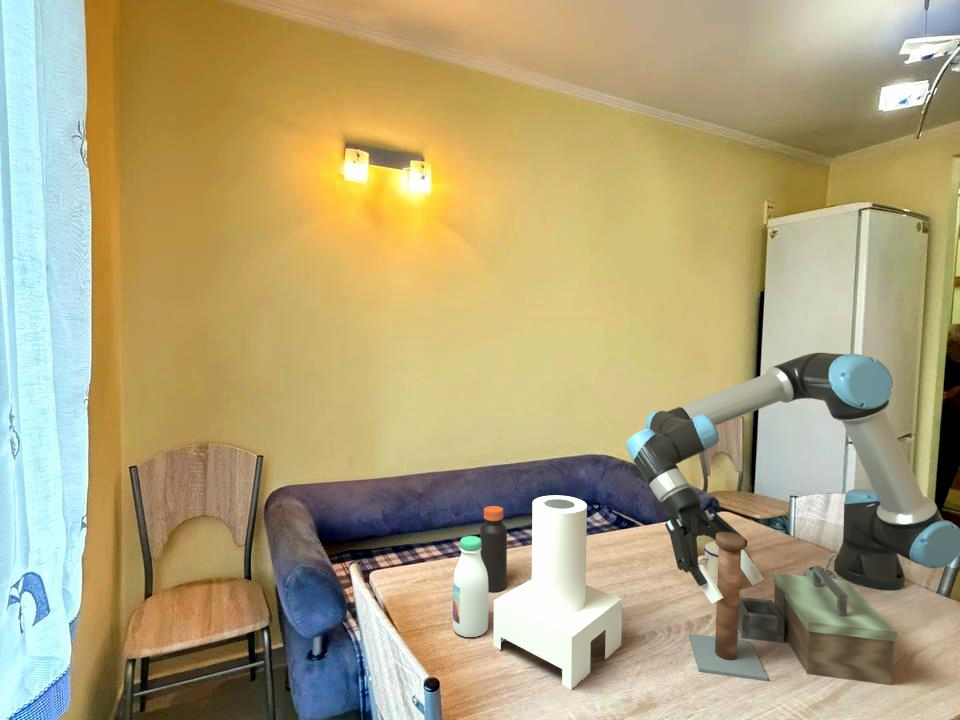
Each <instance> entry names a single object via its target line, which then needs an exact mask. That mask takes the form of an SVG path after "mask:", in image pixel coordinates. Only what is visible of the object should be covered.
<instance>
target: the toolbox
mask: <svg viewBox="0 0 960 720" xmlns="http://www.w3.org/2000/svg"><path fill="white" fill-rule="evenodd" d="M812 567H813V577H809V576H804V575H797V574H789V573H788V574H786V573H777V572H773V578H772V582H773V583H774V598H773V600H770V599H764V598H763V599H762V598H761V599H760V598H754V597H753V598H752V597H743V596H739V619H738V633H739V634H740V636H741V638H742V639H750V640H758V641H759V640H760V641H767V642H773V643H774V642H775V643H782V644H783V643H784V642H785V640H786V641H787V643H788V644H789V646H790V647H791V649H792V651H793V653H794V655H796V658H797V659H798V661H799V662H800V664H801V666H802V667H803V670H804V671H805V673H806V674H807V675H811V676H812V675H814V676H822V677H828V678H837V679H842V680H851V681H858V682H859V681H860V682H865V683H866V682H867V683H875V684H880V685H881V684H882V685H890V686H892V685H893V684H892V682H893V663H894V661H893V660H894V642H896V643H897V642H898V641H897V637H898V631H896V629H895V628H894V627H892V625H891V624H890V623H889V622H888V621H887V620H886V619H885V618H884V617H883V616H882V615H881V614H880V613H879V612H878V611H877V610H876V608H874V607H873V606H872V605H871V604H870V603H869V602H868V600H866V599H865V598H864V597H863V595H861V594H860V593H859V592H858V591H857V590H856V589H855V587H853V585H852V584H850V582H849V581H848V580H846V579H841V578H840V579H838V578H837V579H832V578H831V577H830V576H829V575H828V574H827V573H826V572H825V571H824V570H823V569H822V568H823V567H822V566H820V565H816V564H813V566H812ZM821 567H822V568H821Z"/></svg>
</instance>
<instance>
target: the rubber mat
mask: <svg viewBox="0 0 960 720" xmlns="http://www.w3.org/2000/svg"><path fill="white" fill-rule="evenodd" d="M715 638H716V636H713V635H705V634H703V635H702V634H695V633H688V639H689V642H690V645H691V649H692V653H693V656H694V660H695V663H696V666H697V669H698V672H700V673H707V674H715V675H722V676H729V677H736V678H742V679H743V678H744V679H749V680H756V681H758V680H759V681H765V682H768V680H769V678H768V676H767V673H766V672H765V669H764V667H763V665H762V662H761V661H760V658H759V657H758V654H757V653H756V651H755V649H754V646H753V644H752V642H751V640H744V639H738V645H737V659H735V660H732V661H730V660H724V659H722V658H720V657H718V656H717V655H716V653H715Z"/></svg>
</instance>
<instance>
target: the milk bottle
mask: <svg viewBox="0 0 960 720" xmlns="http://www.w3.org/2000/svg"><path fill="white" fill-rule="evenodd" d="M481 544H482V543H481V539H480V537H478V536H475V535H474V536H473V535H469V536H464V537H462V538H461V539H460V541H459V547H460V548H459V550H460V551H461V553H460V557H459V560H458V562H457V564H456V566H455V569H454V573H453V579H452V580H453V581H452V629H453V631H454V633H455V632H456V633H457V634H459V635H461V636H464V637H476V636H480V635H482V634H484V633H485V632H486V631H488V629H489V592H488V574H487V570H486V567H485V565H484V563H483V560H482V558H481V554H480V551H481ZM456 633H455V634H456ZM486 633H487V632H486ZM486 633H485V634H486ZM457 634H456V635H457ZM485 634H484V635H485ZM459 635H458V636H459ZM461 636H460V637H461ZM482 636H483V635H482ZM464 637H463V638H464ZM480 637H481V636H480ZM476 638H477V637H476Z"/></svg>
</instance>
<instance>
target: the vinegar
mask: <svg viewBox="0 0 960 720" xmlns="http://www.w3.org/2000/svg"><path fill="white" fill-rule="evenodd" d="M483 520H484V523H483V524H482V525H481V527H480V529H479V538H480V539H481V543H482V544H481V551H480V554H481V558H482V560H483V563H484V565H485V567H486V570H487V574H488V591H491V592H490V593H498V592H497V591H499V592H502V591H503V590H505V589H506V587H507V569H508V568H507V566H508V563H507V561H508V557H507V556H508V529H507V526H505V524H504V523H503V520H504V508H503V507H500V506H498V505H497V506H496V505H490V506H486V507H484V508H483ZM501 590H502V591H501Z"/></svg>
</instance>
